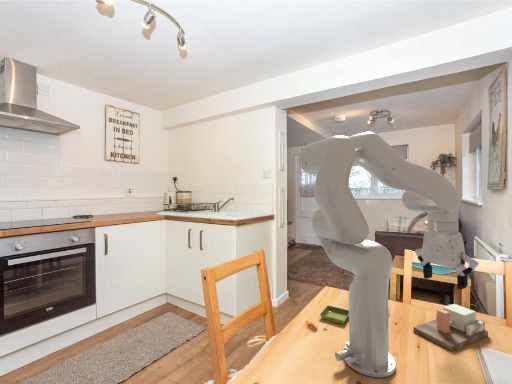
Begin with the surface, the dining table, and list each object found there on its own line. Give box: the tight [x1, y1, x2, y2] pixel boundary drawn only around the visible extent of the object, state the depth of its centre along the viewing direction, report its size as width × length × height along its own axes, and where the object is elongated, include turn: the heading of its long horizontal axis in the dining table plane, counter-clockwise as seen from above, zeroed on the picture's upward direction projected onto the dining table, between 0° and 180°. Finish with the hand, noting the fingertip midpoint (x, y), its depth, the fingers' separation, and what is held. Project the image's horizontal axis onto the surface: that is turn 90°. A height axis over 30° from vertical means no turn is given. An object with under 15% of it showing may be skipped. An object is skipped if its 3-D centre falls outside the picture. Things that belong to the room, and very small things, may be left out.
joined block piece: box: [436, 303, 477, 333], centre depth 80 cm, size 12×6×6 cm, turn 113°
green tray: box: [319, 305, 349, 325], centre depth 91 cm, size 9×9×2 cm
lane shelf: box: [413, 313, 489, 352], centre depth 80 cm, size 18×11×4 cm, turn 113°
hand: (444, 282), depth 78 cm, fingers open, 9 cm apart
